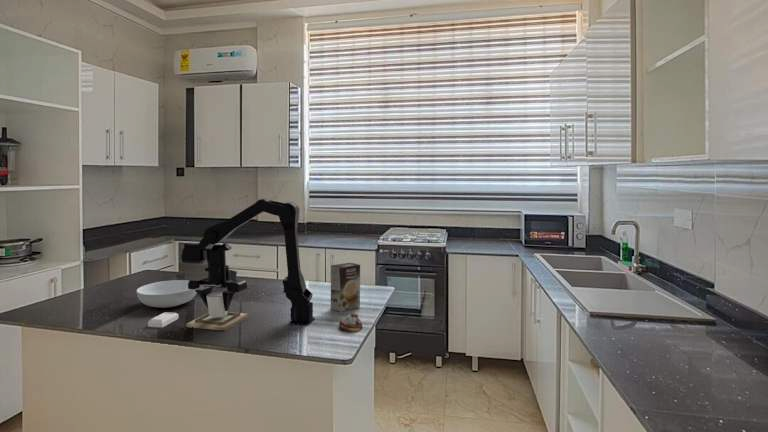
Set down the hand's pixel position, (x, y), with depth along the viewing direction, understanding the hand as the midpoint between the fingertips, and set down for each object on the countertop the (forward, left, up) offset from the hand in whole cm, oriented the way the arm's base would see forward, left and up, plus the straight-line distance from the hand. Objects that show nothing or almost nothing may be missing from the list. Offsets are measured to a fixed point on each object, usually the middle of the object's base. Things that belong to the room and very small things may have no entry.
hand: (218, 310), depth 147 cm
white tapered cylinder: (0, 0, -2) cm, 2 cm away
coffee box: (-36, -25, -4) cm, 44 cm away
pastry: (-44, -5, -4) cm, 45 cm away
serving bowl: (+30, -13, -4) cm, 33 cm away
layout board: (0, 0, -4) cm, 4 cm away
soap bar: (+17, +5, -5) cm, 18 cm away
